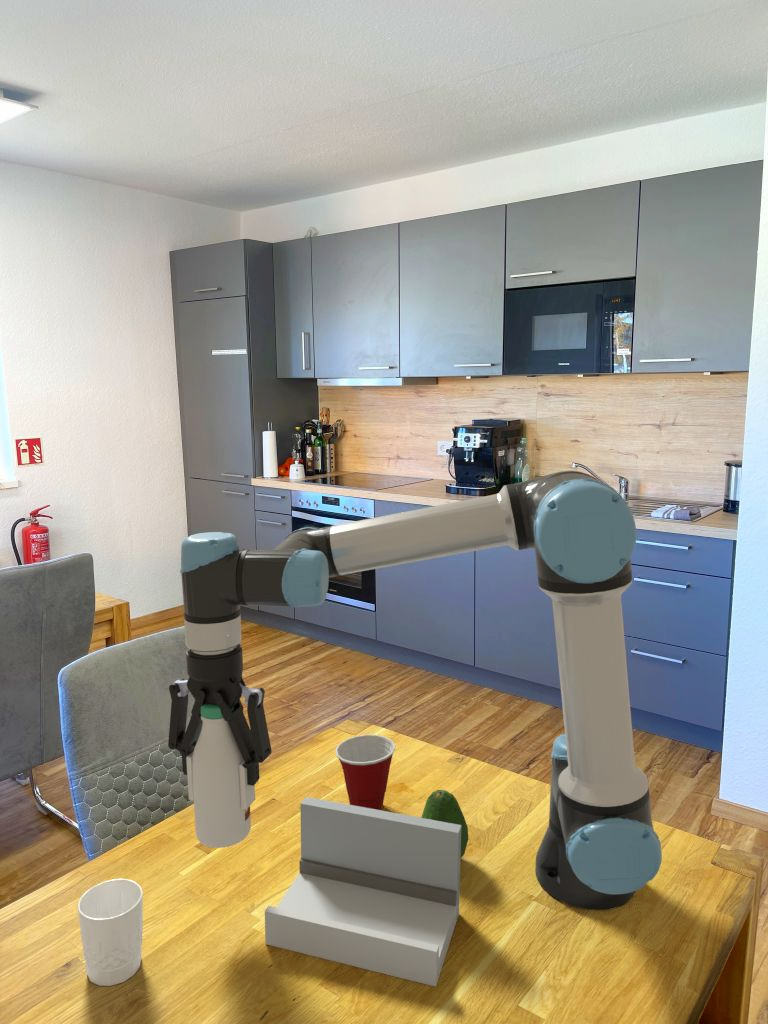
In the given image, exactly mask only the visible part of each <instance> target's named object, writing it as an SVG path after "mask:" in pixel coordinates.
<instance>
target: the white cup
mask: <svg viewBox="0 0 768 1024" xmlns="http://www.w3.org/2000/svg"><path fill="white" fill-rule="evenodd" d="M143 896H144V895H143V889H142V887H141V885H140V884H139V883H138V882H136V881H134V880H131V879H127V878H115V879H109V880H105V881H102V882H100V883H97V884H95V885H93V886H91V887H90V888H89V889H87V890H86V891H85V892H84V893H83V894H82V895H81V897H80V898H79V900H78V903H77V911H78V921H79V930H80V936H81V945H82V950H83V951H82V952H83V956H84V960H85V961H84V962H85V970H86V975H87V977H88V979H89V981H90V982H91V983H93V984H95V985H97V986H100V987H101V986H103V987H112V986H115V985H118V984H121V983H124V982H126V981H127V980H128V979H130V978H132V977H133V976H134V975H135V974H136V972H137V971H138V970H139V968H141V965H142V964H141V963H142V945H143V929H144V928H143V926H144V925H143V921H144V919H143V914H144V913H143V906H144V905H143V902H144V901H143Z"/></svg>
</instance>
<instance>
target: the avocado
mask: <svg viewBox="0 0 768 1024" xmlns="http://www.w3.org/2000/svg"><path fill="white" fill-rule="evenodd" d="M421 818H425V819H431V820H436V821H441V822H447V823H452V824H458V825H461V858H460V860H461V859H462V858H463V857H464V855H465V854H466V849H467V846H468V841H469V828H468V823H467V821H466V818H465V816H464V813H463V811H462V809H461V806H460V804H459V803H458V800H457V798H456V797H455V796H454V794H452V793H451V792H450V791H447V790H445V789H437V790H435V791H432V793H431V794H430V795H429V796H428V797H427V799H426V802H425V805H424V808H423V811H422V815H421Z"/></svg>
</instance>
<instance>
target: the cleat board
mask: <svg viewBox="0 0 768 1024" xmlns="http://www.w3.org/2000/svg"><path fill="white" fill-rule="evenodd" d="M299 807H300V859H299V864H298V865H299V873H298V874H297V876H296V878H295V879H294V880H293V882H292V884H291V885H290V887H289V888H288V890H287V891H286V892H285V894H284V895H283V897H282V899H281V900H280V901H279V903H278V904H277V906H273V905H268V906H267V907H266V908H265V910H264V934H265V935H264V937H265V939H264V943H265V944H264V945H269V946H272V947H275V948H279V949H284V950H288V951H291V952H295V953H299V954H304V955H307V956H312V957H315V958H319V959H324V960H327V961H331V962H336V963H339V964H344V965H347V966H348V965H349V966H351V967H356V968H360V969H362V970H363V969H364V970H368V971H372V972H376V973H379V974H384V975H388V976H391V977H396V978H400V979H402V980H407V981H411V982H416V983H420V984H423V985H427V986H431V987H435V988H436V987H437V984H438V982H439V978H440V975H441V971H442V969H443V966H444V963H445V959H446V956H447V953H448V949H449V946H450V943H451V939H452V937H453V934H454V931H455V926H456V924H457V921H458V917H459V916H460V895H461V894H460V890H461V889H460V888H461V887H460V886H461V883H460V882H461V859H462V858H461V825H458V824H452V823H447V822H441V821H436V820H431V819H425V818H422V817H419V816H418V817H417V816H415V815H408V814H402V813H395V812H392V811H386V810H382V809H381V810H376V809H371V808H365V807H360V806H354V805H350V803H344V802H338V801H337V802H336V801H331V800H325V799H320V798H316V797H309V796H305V797H304V798H303V800H302V801H300V806H299ZM460 858H461V859H460Z"/></svg>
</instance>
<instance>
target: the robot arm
mask: <svg viewBox="0 0 768 1024" xmlns="http://www.w3.org/2000/svg"><path fill="white" fill-rule="evenodd" d="M636 542H637V527H636V522H635V518H634V515H633V512H632V510H631V507H630V506H629V505H628V503H627V502H626V500H625V499H624V497H623V496H622V495H621V494H620V493H619V492H618V491H616V489H614V488H613V487H611V486H610V485H608V484H606V483H603V482H602V481H600V480H599V479H597V478H596V477H595V476H592V475H590V474H589V473H585V472H582V471H577V470H563V471H562V470H561V471H557V472H553V473H550V474H547V475H543V476H539V477H535V478H531V479H529V480H524V481H521V482H515V483H511V484H505V485H503V486H502V488H501V489H500V491H499V492H498V493H496V494H492V495H486V496H482V497H481V496H480V497H476V498H470V499H466V500H464V499H463V500H459V501H455V502H449V503H448V502H447V503H444V504H439V505H434V506H428V507H423V508H417V509H412V510H408V511H407V510H406V511H403V512H397V513H393V514H391V513H390V514H387V515H382V516H377V517H371V518H365V519H361V520H355V521H350V522H345V523H340V524H334V525H331V526H324V527H321V528H316V527H313V526H310V527H309V526H307V527H301V528H299V529H295V530H294V531H292V532H291V533H289V534H288V535H287V536H286V537H285V539H283V540H282V541H281V542H280V543H279V544H278V545H277V546H275V548H274V549H245V548H240V546H239V543H238V538H237V537H236V535H235V534H233V533H230V532H222V531H212V532H211V531H210V532H208V531H207V532H201V533H195V534H192V535H189V536H187V537H186V538H184V540H183V541H182V542H181V546H180V547H181V549H180V554H181V555H180V556H181V557H180V558H181V559H180V561H181V562H180V571H179V572H180V574H181V586H182V598H183V599H182V600H183V601H182V602H183V615H184V616H183V617H184V618H183V623H184V624H183V625H184V643H185V646H186V647H187V648H188V649H187V650H186V651H185V656H186V657H185V658H186V672H187V676H188V679H184V678H183V677H181V678H178V679H177V680H175V681H174V682H173V683H171V684H170V685H169V686H168V690H169V694H170V698H171V702H170V703H171V706H170V717H169V730H168V741H167V746H168V749H170V750H172V751H173V750H177V751H178V752H179V753H180V755H181V764H182V765H181V766H182V767H181V768H182V773H183V775H184V776H186V777H187V792H188V800H189V801H193V802H194V795H193V774H192V761H193V753H194V749H195V746H196V743H197V741H198V738H199V736H200V733H201V729H202V724H203V721H202V720H201V714H200V711H201V706H202V705H204V704H211V705H218V706H219V708H220V710H221V713H222V716H223V718H224V720H225V721H227V722H228V724H229V726H230V729H231V731H232V734H233V736H234V738H235V741H236V743H237V745H238V748H239V750H240V753H241V755H242V757H243V760H244V761H243V762H242V763H241V764H240V765H239V769H240V790H241V809H244V810H247V808H248V807H249V806H250V807H251V805H252V804H253V803H254V802H255V801H256V784H257V783H258V782H259V780H260V764H262V763H264V762H265V761H266V759H267V758H268V757H269V756H270V755H271V754H272V753H273V750H272V746H271V741H270V735H269V728H268V724H267V720H266V719H267V718H266V714H265V707H264V699H265V694H266V693H265V689H264V688H263V687H261V686H259V687H258V688H256V689H255V688H253V687H250V686H247V685H246V682H245V681H244V678H243V672H244V671H243V669H244V661H243V659H244V658H243V656H244V655H243V646H242V645H241V644H240V643H241V642H242V619H241V618H242V617H241V606H257V607H258V606H259V607H260V606H263V607H292V608H298V609H300V608H302V607H303V608H304V607H318V606H321V605H322V604H323V603H325V600H326V598H327V593H328V591H329V581H330V580H329V578H334V577H339V576H344V575H349V574H354V573H360V572H364V571H370V570H371V571H372V570H377V569H381V568H388V567H394V566H399V565H404V564H410V563H416V562H421V561H426V560H432V559H437V558H443V557H448V556H453V555H454V556H455V555H460V554H465V553H471V552H475V551H476V552H477V551H482V550H488V549H494V548H498V547H505V546H507V547H510V548H511V549H513V550H515V551H517V552H518V551H522V550H527V549H528V550H529V549H534V552H535V553H534V554H535V563H536V571H537V581H538V588H539V590H541V592H543V593H544V594H546V596H548V597H549V598H550V599H551V603H552V613H553V620H554V621H553V624H554V633H555V644H556V653H557V664H558V674H559V684H560V695H561V705H562V714H563V715H562V716H563V725H564V733H562V734H560V735H558V736H557V737H556V738H555V740H554V741H553V745H552V750H551V751H552V752H551V753H550V758H551V770H550V772H551V774H550V794H549V795H550V796H549V810H548V811H549V812H548V813H549V814H548V815H549V817H548V818H549V819H548V826H547V828H546V831H545V833H544V835H543V837H542V839H541V843H540V844H539V847H538V850H537V852H536V856H535V871H534V872H535V877H536V880H537V881H538V883H539V885H540V886H541V887H542V888H543V889H544V891H546V892H547V893H548V894H549V895H550V896H552V897H553V898H555V899H557V900H558V901H561V902H562V903H565V904H567V905H570V906H572V907H575V908H580V909H584V910H591V911H592V910H594V911H606V910H612V909H616V908H620V907H622V906H623V905H625V904H627V903H628V902H629V901H630V900H631V899H632V898H633V897H634V895H635V892H636V891H638V890H640V889H642V888H644V887H645V886H646V884H648V883H649V882H651V881H652V880H653V879H654V878H655V877H656V876H657V874H658V872H659V871H660V869H661V865H662V862H663V861H662V859H663V857H662V855H663V854H662V853H663V852H662V844H661V841H660V837H659V836H658V834H657V833H656V831H655V829H654V824H653V819H652V808H651V807H652V806H651V795H650V785H649V784H650V783H649V782H650V781H649V778H648V777H647V775H646V774H645V772H643V771H642V770H641V769H640V768H639V767H637V766H636V761H635V749H634V735H633V726H632V723H633V722H632V712H631V701H630V700H631V699H630V689H629V678H628V677H629V676H628V664H627V663H628V662H627V650H626V641H625V630H624V628H625V627H624V617H623V606H622V594H623V593H625V592H626V590H627V589H628V588H629V587H630V586H631V585H632V583H633V574H632V559H631V558H632V555H633V553H634V550H635V547H636ZM189 693H190V694H191V696H192V697H193V699H194V703H193V705H192V708H191V712H190V714H191V716H190V718H189V721H188V725H187V720H188V719H187V718H188V705H189ZM241 697H243V699H244V705H246V706H247V707H246V709H247V710H246V712H247V718H246V716H245V713H244V706H243V703H242V701H241ZM233 707H234V710H233V711H232V712H231V709H232V708H233ZM247 719H248V720H247Z"/></svg>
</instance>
